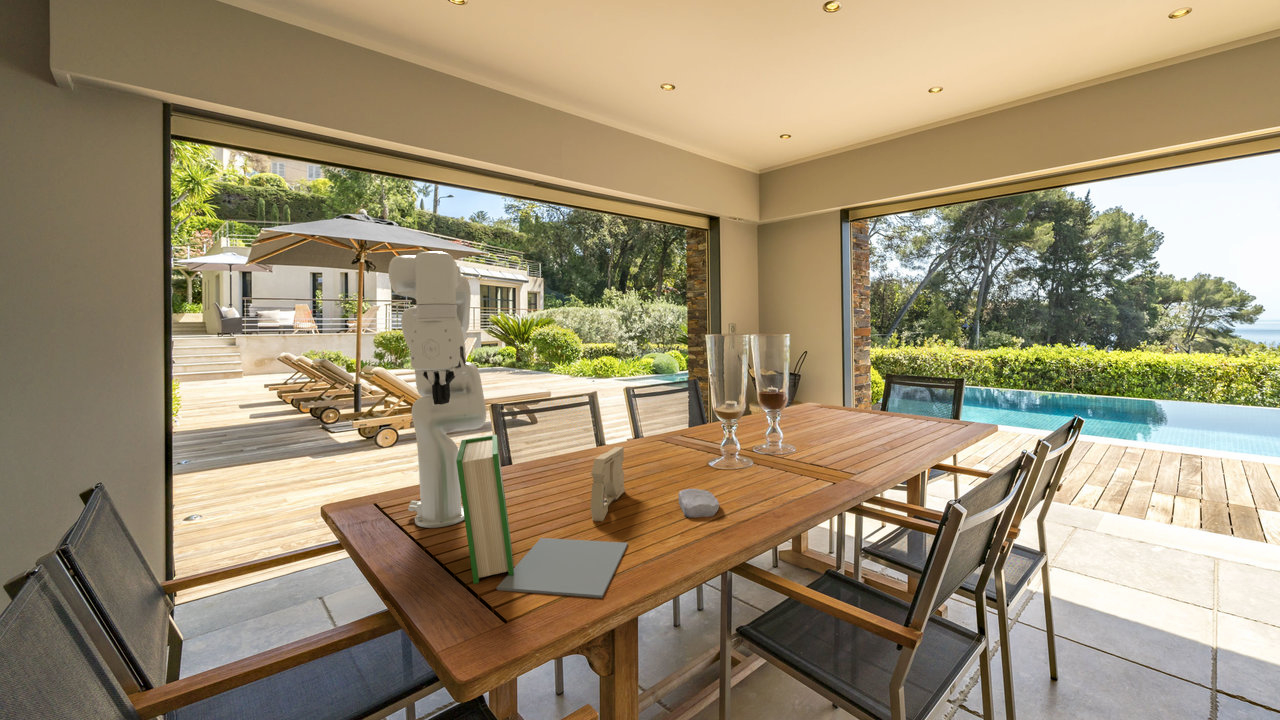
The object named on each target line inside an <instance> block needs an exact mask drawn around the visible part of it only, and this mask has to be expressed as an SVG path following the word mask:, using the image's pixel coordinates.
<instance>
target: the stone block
mask: <svg viewBox="0 0 1280 720" xmlns="http://www.w3.org/2000/svg"><path fill="white" fill-rule="evenodd" d="M678 504H679V507H680V509H681V511H682V513H683V516H685V517H686V518H687V519H691V518H701V517H703V518H704V517H706V518H709V517H711V518H712V517H714V516H715V514H716V513H717V512H718V511H719V508H720V503H719V500H718V499H717V498H716V496H715V495H714V494H713V493H712V492H710V491H708V490H706V489H699V488H686V489H682V490H680V491H679V492H678Z"/></svg>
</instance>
